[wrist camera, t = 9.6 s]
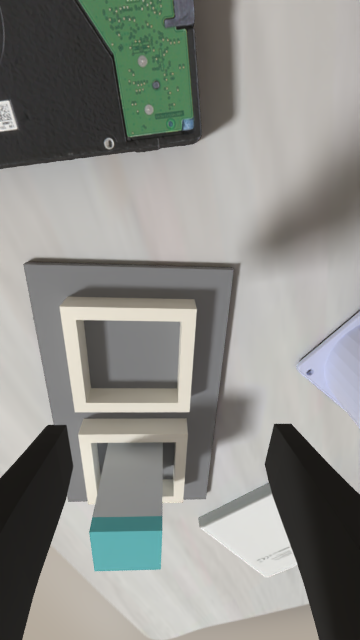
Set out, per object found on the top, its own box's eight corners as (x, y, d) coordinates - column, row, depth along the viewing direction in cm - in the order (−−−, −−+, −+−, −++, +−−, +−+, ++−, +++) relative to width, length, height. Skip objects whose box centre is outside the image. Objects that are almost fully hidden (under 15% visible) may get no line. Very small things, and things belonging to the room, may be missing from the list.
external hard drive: (270, 475, 27) (326, 535, 32) (197, 511, 29) (260, 563, 34) (276, 492, 26) (334, 552, 31) (198, 529, 28) (264, 580, 33)
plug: (161, 469, 25) (160, 569, 19) (112, 469, 25) (94, 571, 18) (162, 433, 23) (162, 530, 17) (110, 433, 23) (89, 532, 17)
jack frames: (182, 485, 26) (183, 502, 24) (92, 486, 25) (88, 504, 24) (194, 299, 18) (196, 309, 17) (67, 296, 18) (59, 306, 17)
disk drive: (-76, 184, 16) (200, 144, 16) (-121, 187, 14) (206, 138, 13) (-211, -109, 12) (172, -178, 11) (-317, -188, 9) (174, -280, 9)
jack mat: (205, 493, 27) (205, 499, 27) (69, 496, 27) (68, 501, 26) (232, 267, 18) (233, 269, 18) (26, 262, 17) (23, 264, 17)
